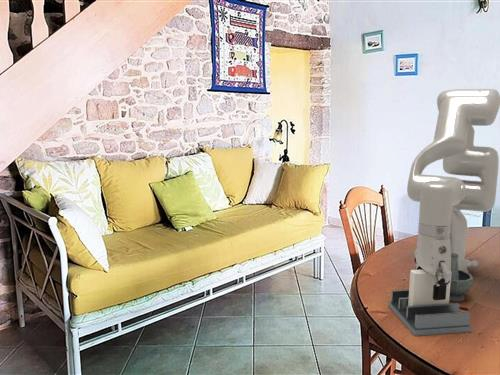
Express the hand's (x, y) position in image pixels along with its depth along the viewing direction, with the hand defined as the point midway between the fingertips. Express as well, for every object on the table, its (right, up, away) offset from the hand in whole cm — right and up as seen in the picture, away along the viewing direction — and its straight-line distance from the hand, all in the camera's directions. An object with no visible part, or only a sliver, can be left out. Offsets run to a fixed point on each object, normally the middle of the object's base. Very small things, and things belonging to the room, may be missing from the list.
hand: (429, 291), depth 117 cm
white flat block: (0, -6, +1) cm, 6 cm away
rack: (0, -8, +2) cm, 8 cm away
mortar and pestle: (+13, -5, +15) cm, 20 cm away
